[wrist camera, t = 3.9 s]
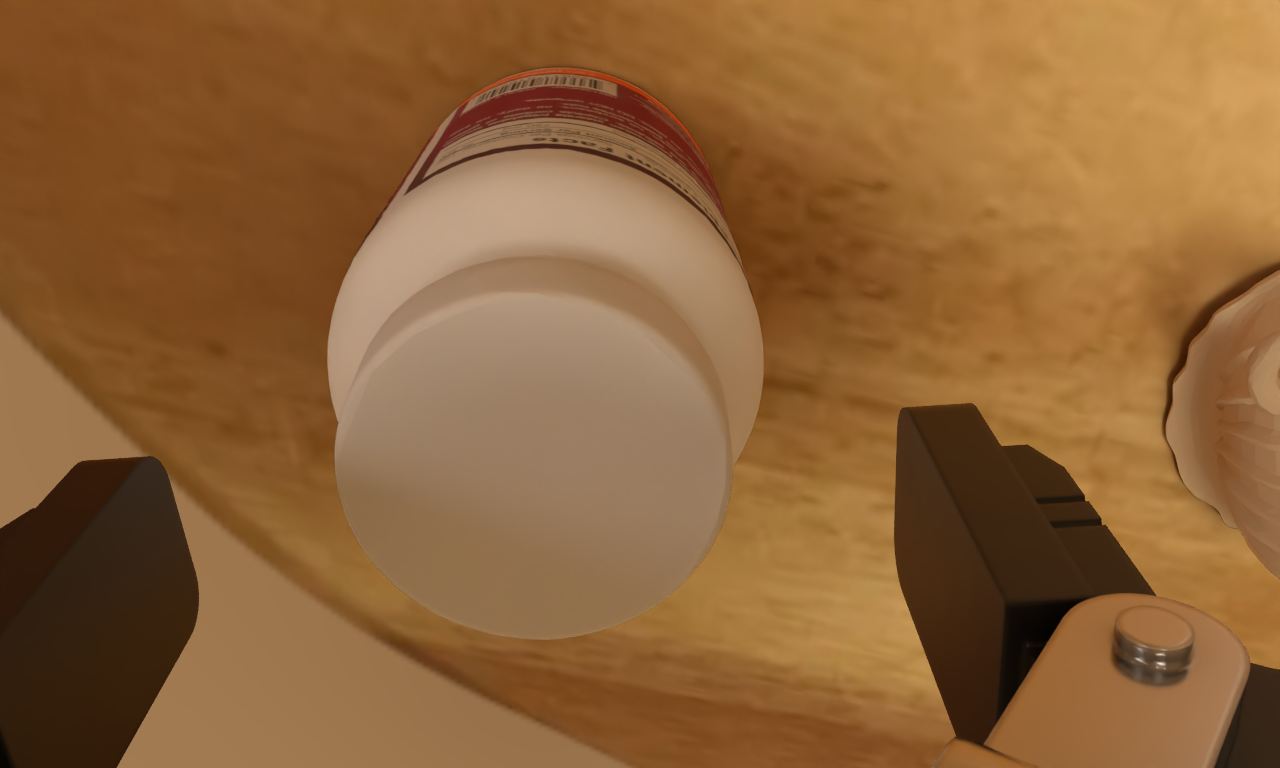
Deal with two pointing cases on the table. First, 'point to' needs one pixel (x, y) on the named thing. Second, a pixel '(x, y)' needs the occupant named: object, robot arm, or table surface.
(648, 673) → the table surface
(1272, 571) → the decorative ornament
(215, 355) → the table surface
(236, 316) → the table surface
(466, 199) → the pill bottle
